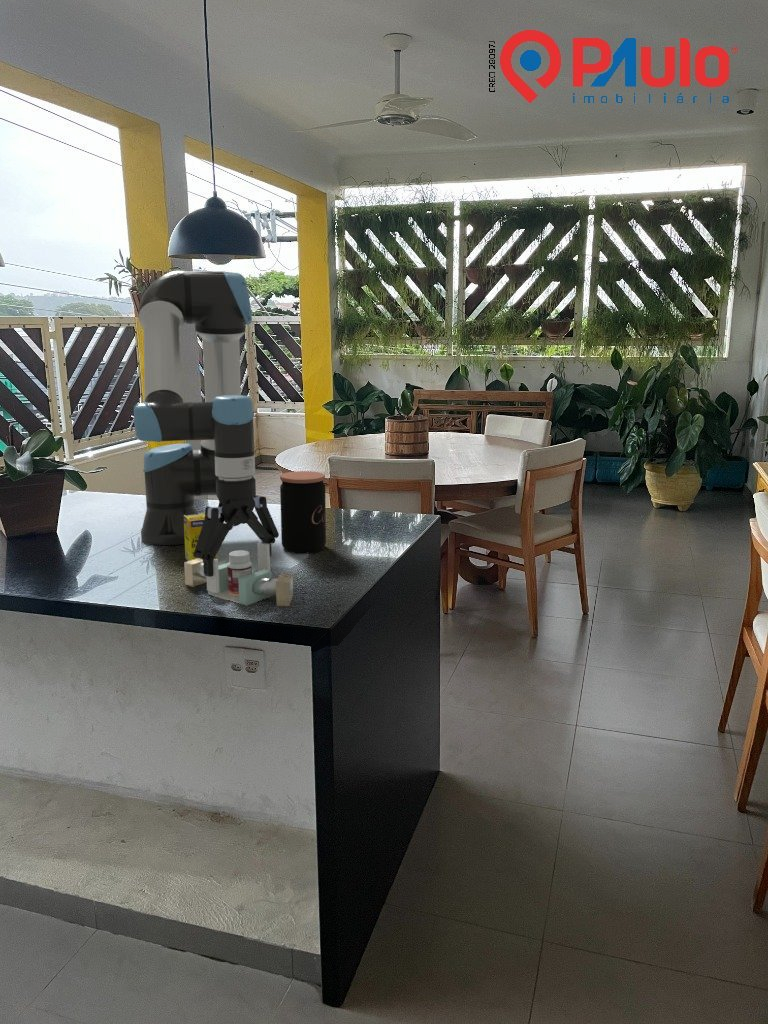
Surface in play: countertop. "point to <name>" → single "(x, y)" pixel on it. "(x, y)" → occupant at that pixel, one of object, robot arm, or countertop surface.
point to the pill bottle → (238, 569)
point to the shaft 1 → (194, 572)
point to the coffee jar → (303, 511)
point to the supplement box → (192, 533)
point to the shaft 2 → (276, 588)
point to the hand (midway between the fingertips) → (239, 582)
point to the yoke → (241, 586)
